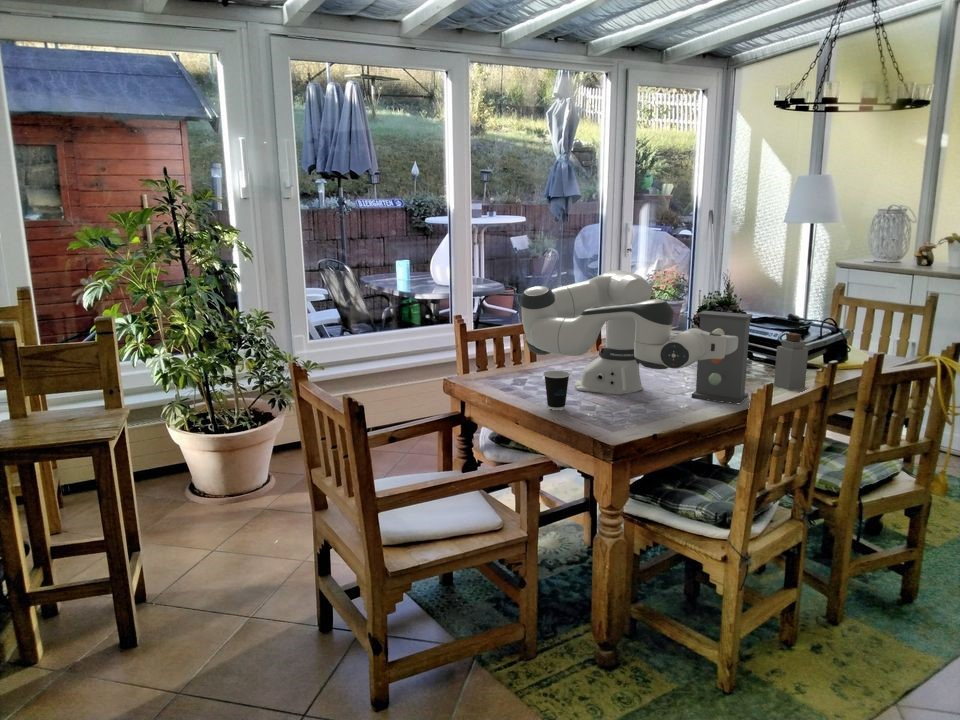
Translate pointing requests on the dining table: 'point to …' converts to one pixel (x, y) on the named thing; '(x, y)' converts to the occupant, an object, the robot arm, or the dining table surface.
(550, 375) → the dixie cup
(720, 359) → the button middle
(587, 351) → the robot arm
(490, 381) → the dining table surface
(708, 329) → the button column
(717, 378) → the button bottom
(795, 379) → the perfume bottle
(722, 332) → the button top
